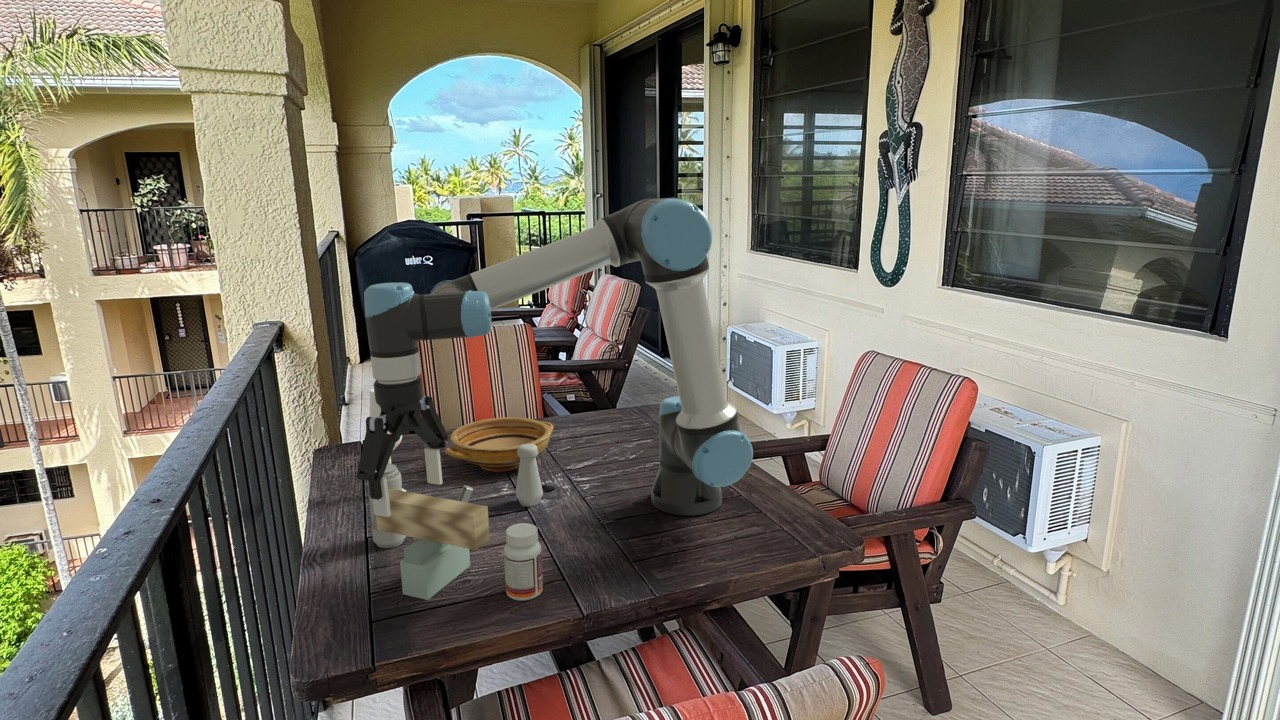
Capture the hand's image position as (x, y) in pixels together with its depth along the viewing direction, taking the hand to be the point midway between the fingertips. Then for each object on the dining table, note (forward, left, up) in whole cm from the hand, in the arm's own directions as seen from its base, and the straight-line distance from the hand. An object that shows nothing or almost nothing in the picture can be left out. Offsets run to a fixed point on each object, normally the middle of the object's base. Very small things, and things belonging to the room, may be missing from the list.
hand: (410, 498), depth 123 cm
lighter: (+4, -18, -14) cm, 23 cm away
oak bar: (-4, 0, -6) cm, 7 cm away
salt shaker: (-4, -33, -14) cm, 36 cm away
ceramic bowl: (+14, -51, -14) cm, 55 cm away
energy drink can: (+12, -8, -14) cm, 20 cm away
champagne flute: (+27, -26, -14) cm, 40 cm away
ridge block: (-5, 0, -14) cm, 15 cm away
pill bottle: (-21, -2, -14) cm, 25 cm away
